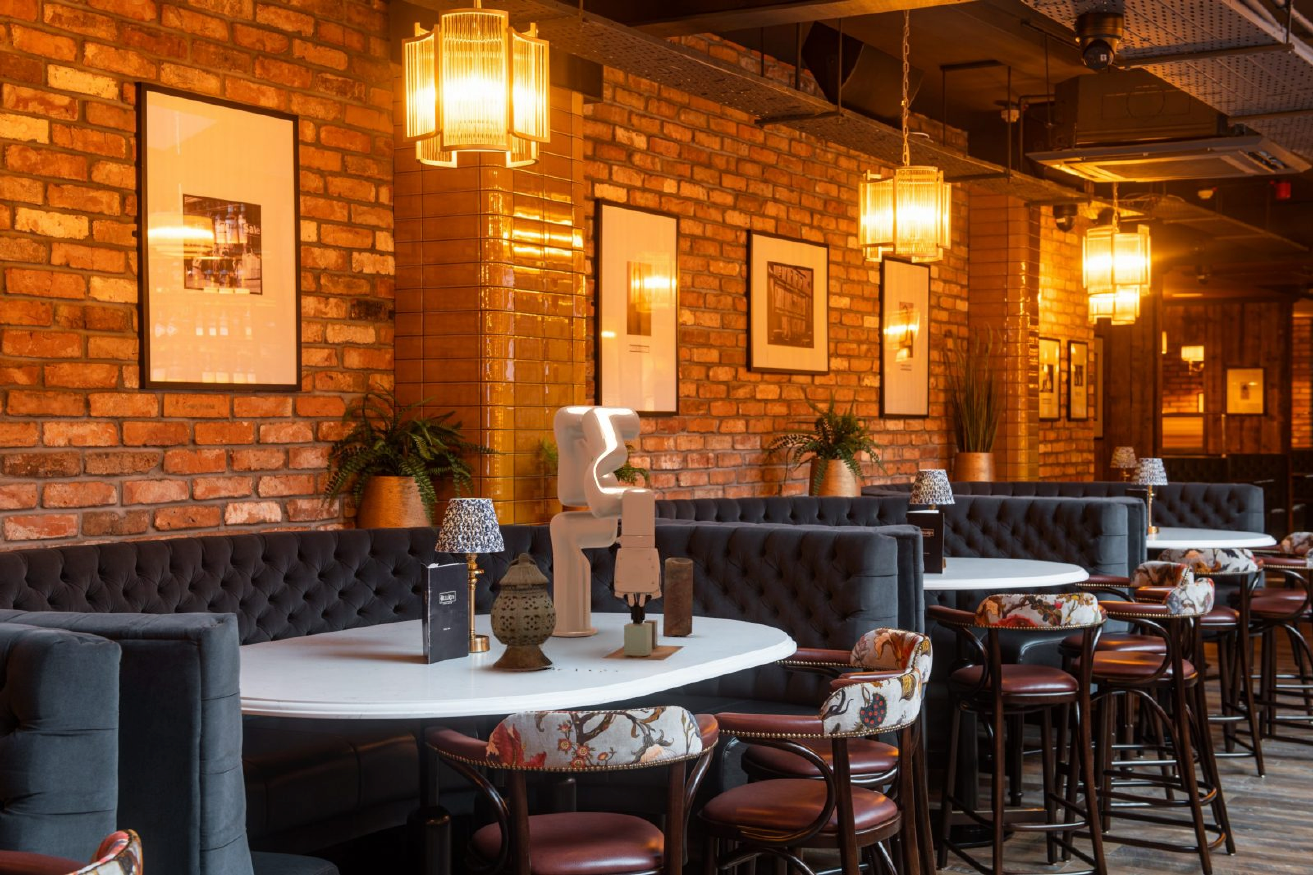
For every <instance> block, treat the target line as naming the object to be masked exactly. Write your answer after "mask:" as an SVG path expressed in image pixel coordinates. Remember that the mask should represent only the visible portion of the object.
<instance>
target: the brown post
mask: <svg viewBox="0 0 1313 875" xmlns="http://www.w3.org/2000/svg"><path fill="white" fill-rule="evenodd" d="M643 623H652V649H656V648H657V645H658V619H645V620H643Z"/></svg>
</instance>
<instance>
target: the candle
mask: <svg viewBox="0 0 1313 875" xmlns="http://www.w3.org/2000/svg"><path fill="white" fill-rule="evenodd" d="M693 578H694V561H693V560H692V559H690V558H686V557H669V558H666V559H665V560H664V591H663V592H664V593H663V621H662V622H663V624H662V626H663V627H662V636H663V637H667V638H685V637H687V636H690V635H692V634H693V596H694V595H693V593H694V592H693V587H694V586H693V584H694V580H693Z"/></svg>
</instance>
